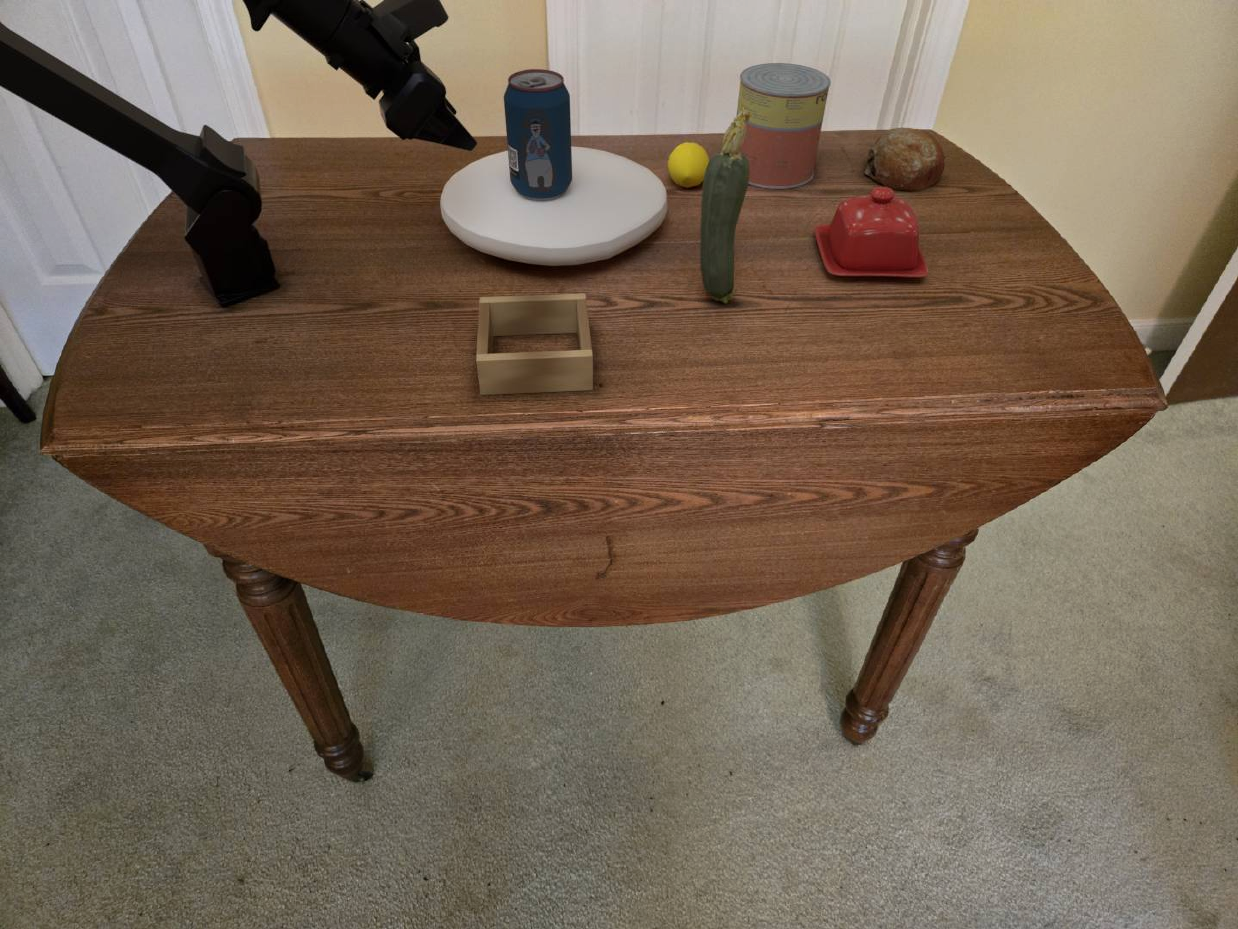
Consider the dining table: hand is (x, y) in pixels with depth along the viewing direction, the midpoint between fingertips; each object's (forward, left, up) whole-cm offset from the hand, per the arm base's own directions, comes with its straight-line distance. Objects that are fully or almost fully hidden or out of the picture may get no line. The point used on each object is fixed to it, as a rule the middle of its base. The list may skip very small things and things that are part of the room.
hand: (463, 130), depth 85 cm
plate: (+11, -1, -14) cm, 17 cm away
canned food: (+43, -7, -14) cm, 45 cm away
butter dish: (+34, -30, -14) cm, 47 cm away
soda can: (+7, -3, -8) cm, 11 cm away
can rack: (-7, -22, -14) cm, 27 cm away
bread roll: (+56, -19, -14) cm, 60 cm away
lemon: (+31, -3, -14) cm, 34 cm away
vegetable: (+14, -25, -14) cm, 32 cm away
